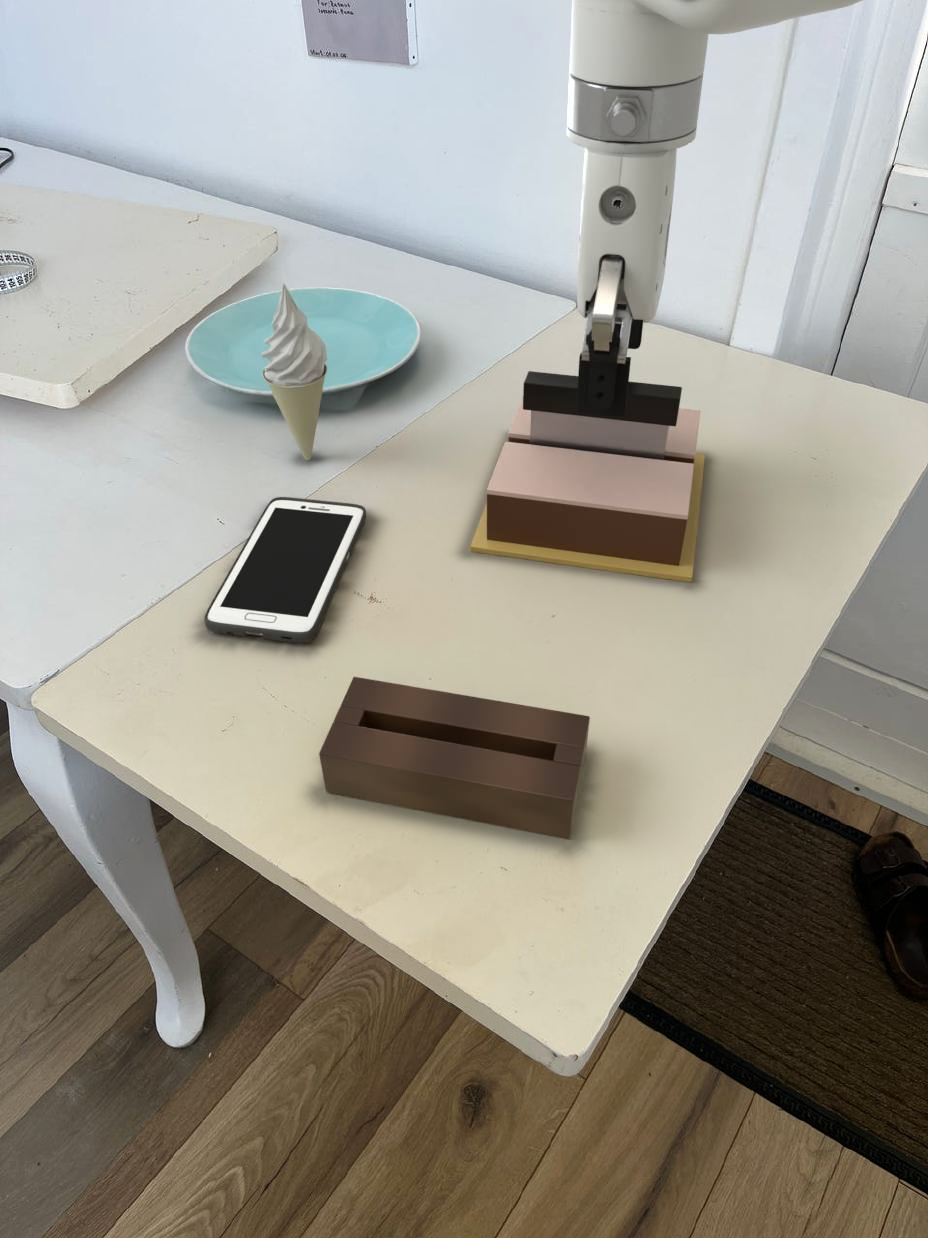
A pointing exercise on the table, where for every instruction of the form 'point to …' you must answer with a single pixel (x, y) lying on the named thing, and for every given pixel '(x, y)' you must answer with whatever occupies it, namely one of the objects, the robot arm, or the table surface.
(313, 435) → the ice cream cone
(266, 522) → the cell phone
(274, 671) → the table surface
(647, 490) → the cake
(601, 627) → the table surface
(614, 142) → the robot arm
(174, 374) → the table surface
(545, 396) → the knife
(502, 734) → the brown slotted box
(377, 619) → the table surface
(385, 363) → the plate
